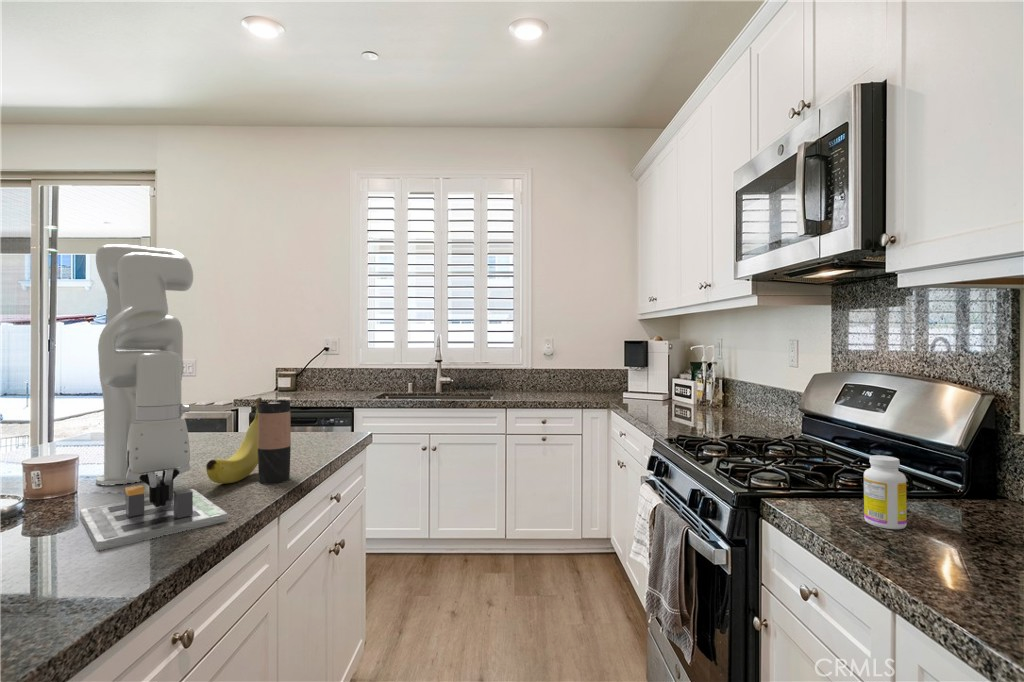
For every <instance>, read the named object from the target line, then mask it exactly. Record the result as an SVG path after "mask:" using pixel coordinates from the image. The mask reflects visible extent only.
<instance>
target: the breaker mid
mask: <svg viewBox="0 0 1024 682" xmlns="http://www.w3.org/2000/svg"><path fill="white" fill-rule="evenodd" d="M145 489H146V488H145V487H144V486H143V485H142V484H139V485H134V486H129V487H125V490H124V492H125V501H126V514H127V516H128V517H131V516H136V515H141V514H144V498H145V493H146V490H145Z"/></svg>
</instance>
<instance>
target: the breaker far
mask: <svg viewBox="0 0 1024 682" xmlns="http://www.w3.org/2000/svg"><path fill="white" fill-rule="evenodd" d="M161 477H162V475H159V476H156V479H157V483H160V481H161ZM173 493H174V480H173V481H172V482H171V484H170V485H169V499H173Z"/></svg>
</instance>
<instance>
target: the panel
mask: <svg viewBox="0 0 1024 682" xmlns="http://www.w3.org/2000/svg"><path fill="white" fill-rule="evenodd" d="M190 490H191V491H192V492H193V515H190V516H186V517H181V518H177V517H176V516H175V515H174V492H173V499H169V500H166V506H161V505H160V506H159V507H155V506H154V505H153V503H150V500H149V496H148V497H144V514H141V515H136V516H131V517H128V516H127V514H126V500H125V501H121V502H120V501H119V502H114V503H108V504H104V505H98V506H93V507H92V506H91V507H87V508H81V509H80V510H79V517H80V520H81V522H82V523H83V526H84V527H85V530H86V532H87V534H88V535H89V538H90V540H91V541H92V542H91V543H92V544H93V545H94V547H95V549H96V551H97V552H100V551H103V549H105V550H109V549H113V548H117V547H121V546H126V545H130V544H135V543H139V542H143V540H144V541H147V540H152V538H153V539H157V538H161V537H164V536H163V535H166V536H169V534H170V535H174V534H178V532H179V533H181V532H182V531H183V532H187V531H190V530H191V529H192V530H195V529H199V528H204V527H207V526H212V525H217V524H222V523H226V522H228V513H227V512H226V511H225V510H223V509H222V508H221V507H219V506H218V505H216V504H215V503H214V502H212V501H211V500H210V499H209V498H207V497H205V496H204V495H203V494H201V493H200V492H199V491H197V490H195V488H191V489H190ZM186 530H187V531H186ZM173 533H174V534H173ZM160 536H161V537H160ZM156 537H157V538H156ZM108 548H109V549H108ZM99 550H100V551H99Z"/></svg>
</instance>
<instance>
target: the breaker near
mask: <svg viewBox="0 0 1024 682" xmlns="http://www.w3.org/2000/svg"><path fill="white" fill-rule="evenodd" d="M173 493H174V515H175V516H176V517H177V518H181V517H186V516H190V515H193V492H192V491H191V489H190V488H184V489H179V490H173Z"/></svg>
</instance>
